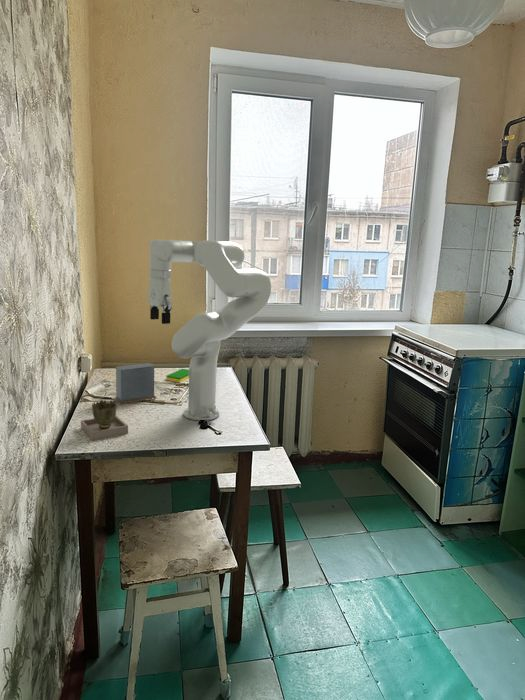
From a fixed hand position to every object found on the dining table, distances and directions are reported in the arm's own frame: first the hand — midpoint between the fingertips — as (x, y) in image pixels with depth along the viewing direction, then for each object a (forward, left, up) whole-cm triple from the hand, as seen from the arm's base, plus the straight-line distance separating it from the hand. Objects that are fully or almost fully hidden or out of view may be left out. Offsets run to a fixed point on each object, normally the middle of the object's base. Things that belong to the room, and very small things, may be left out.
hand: (160, 321), depth 179 cm
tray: (-20, +28, -30) cm, 46 cm away
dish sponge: (+23, -21, -31) cm, 44 cm away
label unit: (+4, +8, -30) cm, 32 cm away
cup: (-20, +28, -30) cm, 45 cm away
